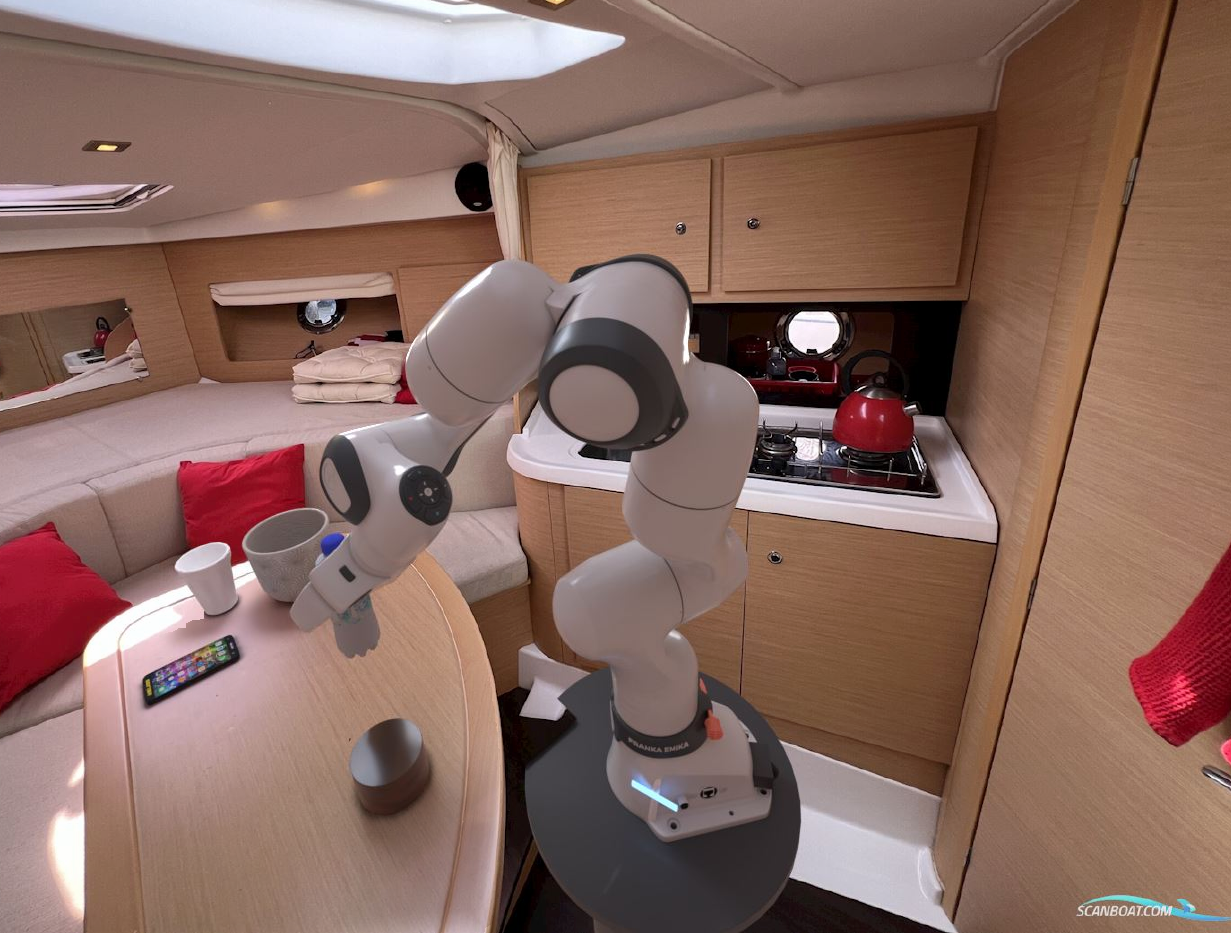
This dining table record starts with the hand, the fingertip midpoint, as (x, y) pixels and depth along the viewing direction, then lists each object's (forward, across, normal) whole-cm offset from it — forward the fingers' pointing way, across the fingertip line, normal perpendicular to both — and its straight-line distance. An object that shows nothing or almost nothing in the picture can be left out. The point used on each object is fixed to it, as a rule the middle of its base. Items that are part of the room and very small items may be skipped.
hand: (344, 590), depth 80 cm
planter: (+45, -16, -10) cm, 49 cm away
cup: (+54, -5, -19) cm, 57 cm away
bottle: (+7, 0, +8) cm, 11 cm away
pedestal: (+10, +7, +25) cm, 28 cm away
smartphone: (+45, +8, -10) cm, 47 cm away
